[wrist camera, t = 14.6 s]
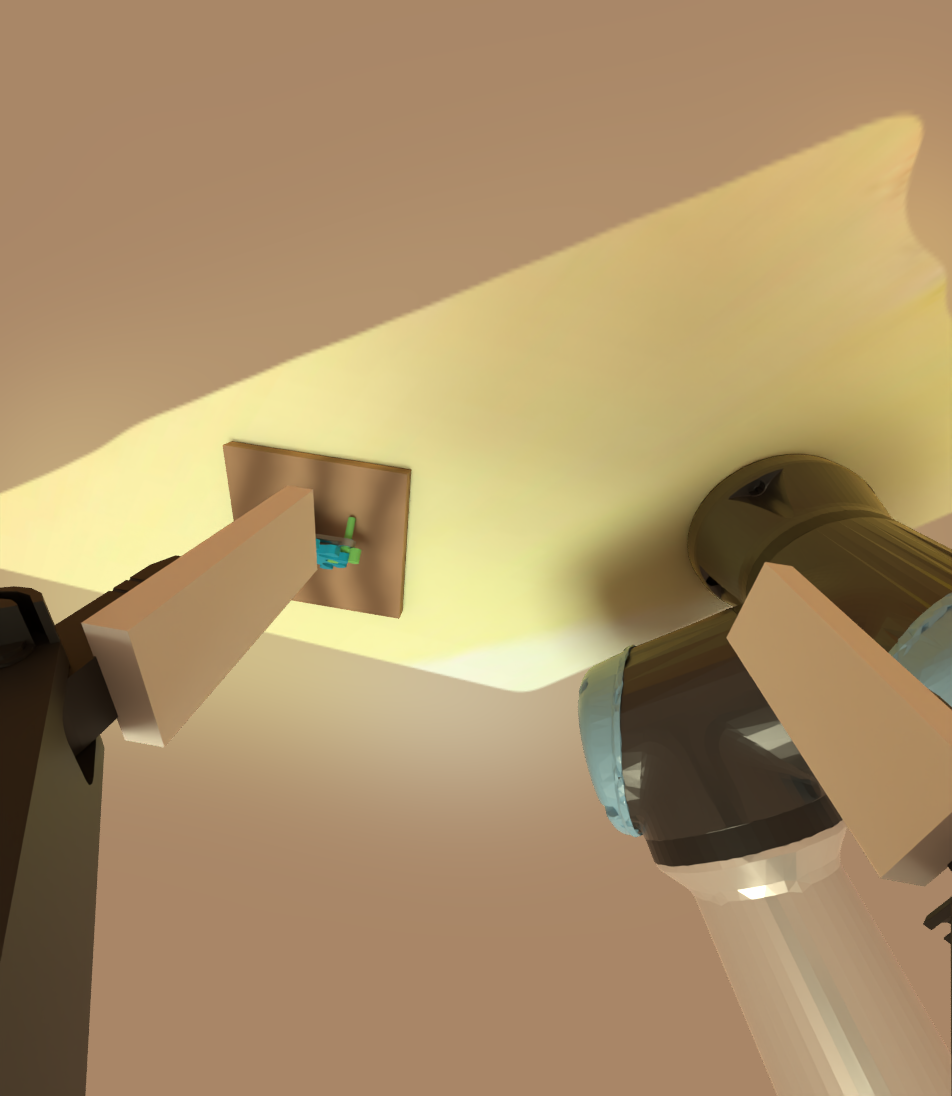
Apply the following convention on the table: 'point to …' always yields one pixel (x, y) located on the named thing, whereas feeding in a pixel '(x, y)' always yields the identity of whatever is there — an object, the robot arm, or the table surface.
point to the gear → (337, 549)
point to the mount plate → (336, 519)
